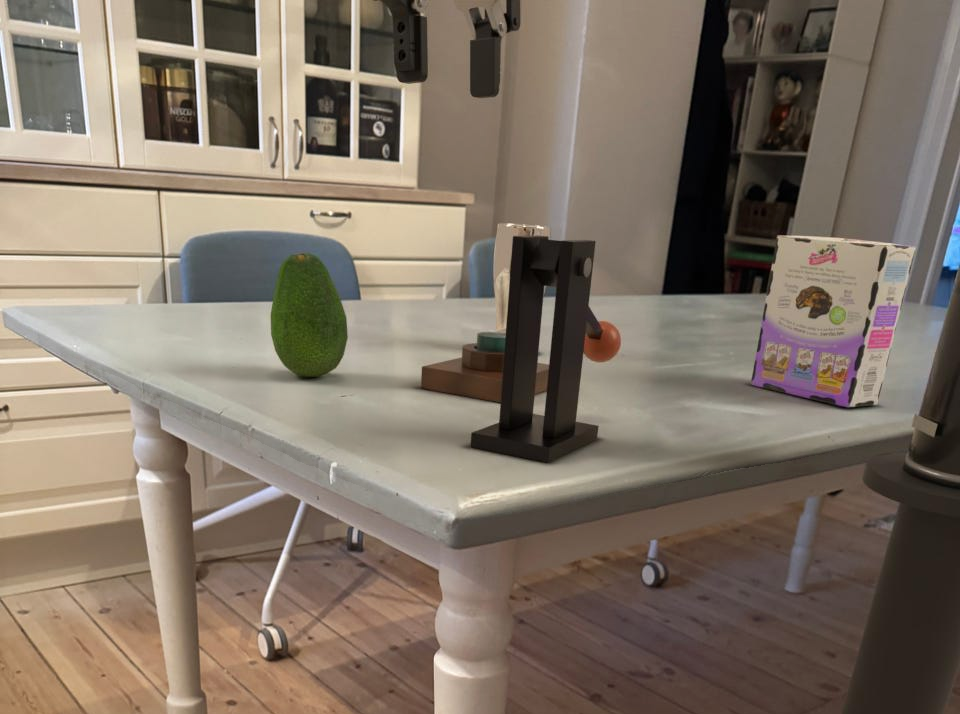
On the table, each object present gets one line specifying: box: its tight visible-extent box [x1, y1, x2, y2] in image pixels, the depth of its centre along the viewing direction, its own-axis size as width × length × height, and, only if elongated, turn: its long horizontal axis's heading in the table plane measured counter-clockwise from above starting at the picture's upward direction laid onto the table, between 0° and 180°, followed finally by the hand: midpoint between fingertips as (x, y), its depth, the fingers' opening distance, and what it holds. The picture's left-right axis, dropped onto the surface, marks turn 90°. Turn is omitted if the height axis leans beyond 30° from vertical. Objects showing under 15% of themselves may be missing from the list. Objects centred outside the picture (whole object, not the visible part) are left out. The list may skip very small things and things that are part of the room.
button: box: [476, 331, 506, 352], centre depth 96 cm, size 4×4×2 cm
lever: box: [530, 239, 622, 364], centre depth 78 cm, size 17×4×4 cm
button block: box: [420, 342, 549, 404], centre depth 97 cm, size 10×12×4 cm
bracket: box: [470, 235, 600, 464], centre depth 74 cm, size 10×7×16 cm
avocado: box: [270, 252, 349, 379], centre depth 94 cm, size 8×8×12 cm
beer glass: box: [492, 222, 552, 334], centre depth 117 cm, size 7×7×15 cm
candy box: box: [750, 235, 917, 408], centre depth 102 cm, size 14×6×16 cm, turn 35°
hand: (450, 90), depth 67 cm, fingers open, 8 cm apart
